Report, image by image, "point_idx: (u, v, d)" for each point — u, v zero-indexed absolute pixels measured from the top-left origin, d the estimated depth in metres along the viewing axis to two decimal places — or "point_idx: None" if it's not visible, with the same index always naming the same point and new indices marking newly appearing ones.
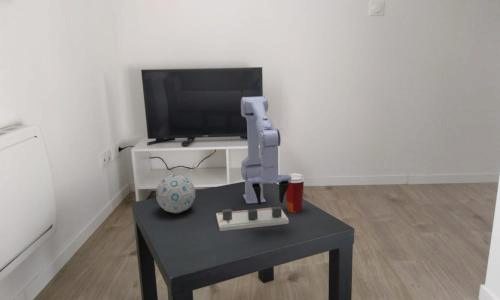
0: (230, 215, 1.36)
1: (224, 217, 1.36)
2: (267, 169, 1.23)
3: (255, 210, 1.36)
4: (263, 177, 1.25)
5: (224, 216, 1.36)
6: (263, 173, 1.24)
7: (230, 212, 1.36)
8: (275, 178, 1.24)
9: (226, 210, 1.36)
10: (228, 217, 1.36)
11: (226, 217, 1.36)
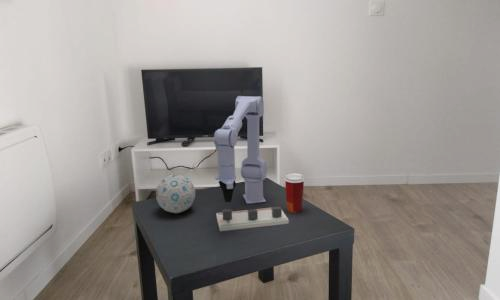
0: (230, 215, 1.36)
1: (224, 217, 1.36)
2: None
3: (255, 210, 1.36)
4: None
5: (224, 216, 1.36)
6: None
7: (230, 212, 1.36)
8: (219, 177, 1.27)
9: (226, 210, 1.36)
10: (228, 217, 1.36)
11: (226, 217, 1.36)
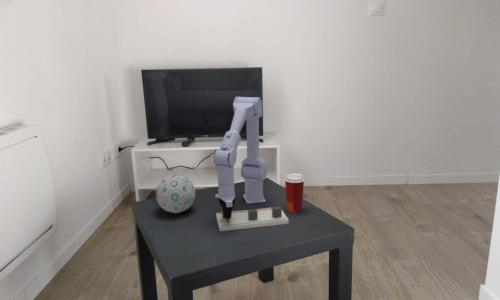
0: None
1: (223, 215, 1.37)
2: None
3: (255, 210, 1.36)
4: None
5: (223, 215, 1.37)
6: None
7: None
8: (219, 195, 1.32)
9: None
10: None
11: None
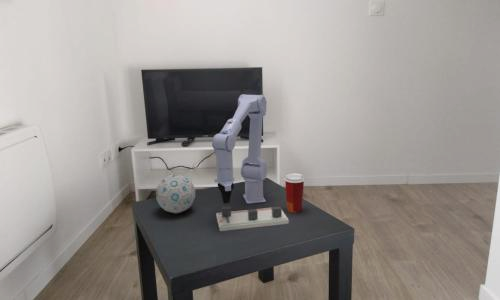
0: (229, 213, 1.39)
1: (223, 214, 1.38)
2: None
3: (255, 210, 1.36)
4: None
5: (223, 214, 1.38)
6: None
7: (229, 209, 1.38)
8: (218, 179, 1.33)
9: (225, 207, 1.39)
10: (227, 214, 1.39)
11: (225, 214, 1.39)
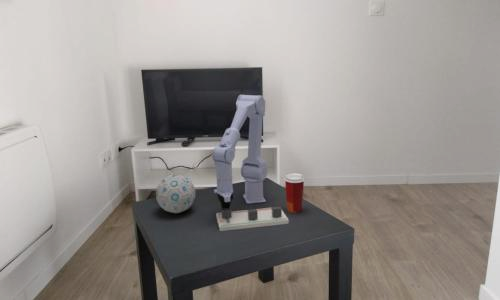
0: (230, 214, 1.37)
1: (224, 216, 1.37)
2: None
3: (255, 210, 1.36)
4: None
5: (223, 215, 1.37)
6: None
7: (230, 211, 1.37)
8: (218, 190, 1.36)
9: (225, 209, 1.38)
10: (228, 216, 1.37)
11: (226, 216, 1.37)
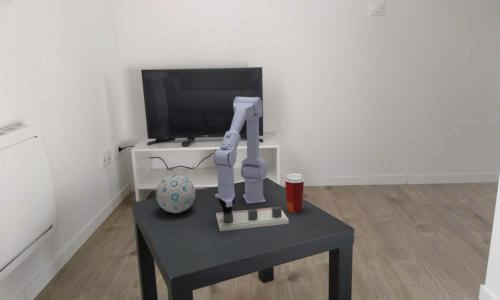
0: (231, 219, 1.34)
1: (225, 220, 1.33)
2: None
3: (255, 210, 1.36)
4: None
5: (225, 220, 1.33)
6: None
7: (231, 215, 1.33)
8: (219, 195, 1.32)
9: (227, 213, 1.34)
10: (229, 220, 1.34)
11: (227, 220, 1.34)
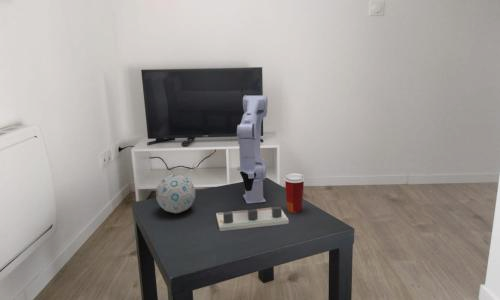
0: (231, 218, 1.34)
1: (225, 220, 1.34)
2: None
3: (255, 210, 1.36)
4: None
5: (225, 219, 1.33)
6: None
7: (231, 215, 1.34)
8: (241, 168, 1.37)
9: (227, 213, 1.34)
10: (229, 220, 1.34)
11: (227, 220, 1.34)
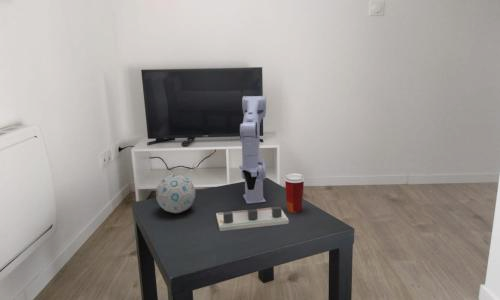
0: (231, 218, 1.34)
1: (225, 220, 1.34)
2: None
3: (255, 210, 1.36)
4: None
5: (225, 219, 1.33)
6: None
7: (231, 215, 1.34)
8: (244, 166, 1.37)
9: (227, 213, 1.34)
10: (229, 220, 1.34)
11: (227, 220, 1.34)
